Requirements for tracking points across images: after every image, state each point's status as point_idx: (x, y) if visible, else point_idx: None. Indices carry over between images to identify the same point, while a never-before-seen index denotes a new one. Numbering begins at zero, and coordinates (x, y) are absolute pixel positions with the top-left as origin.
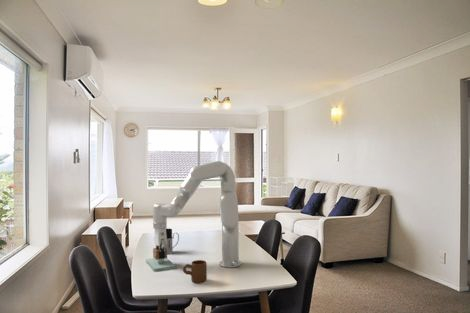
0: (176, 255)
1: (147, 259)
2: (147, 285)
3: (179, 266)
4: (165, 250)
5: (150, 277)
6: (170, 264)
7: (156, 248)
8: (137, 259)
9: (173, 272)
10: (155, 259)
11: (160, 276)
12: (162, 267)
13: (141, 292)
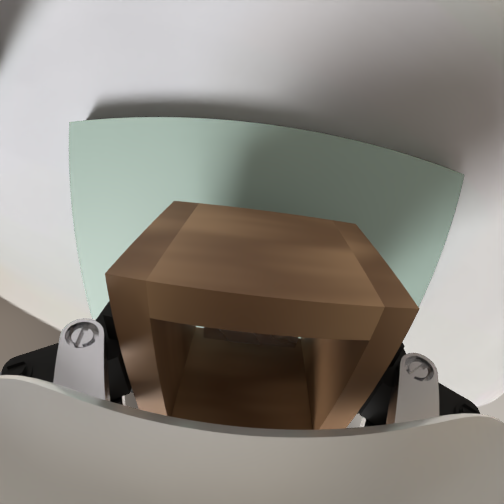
0: (44, 11)
1: (94, 309)
2: (484, 382)
3: (424, 105)
4: (395, 328)
5: (442, 368)
6: (405, 195)
7: (167, 409)
8: (36, 316)
9: (494, 235)
10: (116, 254)
11: (475, 326)
12: (419, 296)
13: (495, 395)
